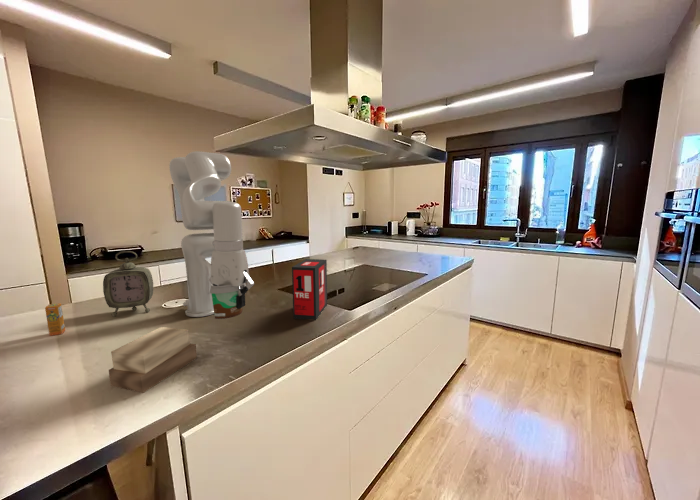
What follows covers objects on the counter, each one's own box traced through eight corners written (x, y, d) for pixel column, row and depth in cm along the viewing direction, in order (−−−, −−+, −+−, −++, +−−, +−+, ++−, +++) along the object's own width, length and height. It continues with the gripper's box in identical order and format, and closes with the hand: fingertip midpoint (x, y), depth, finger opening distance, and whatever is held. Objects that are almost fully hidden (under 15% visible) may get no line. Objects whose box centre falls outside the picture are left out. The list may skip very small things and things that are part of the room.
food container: (231, 323, 80) (229, 287, 78) (211, 320, 81) (209, 286, 79) (254, 307, 92) (253, 276, 90) (236, 305, 93) (235, 275, 91)
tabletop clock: (107, 318, 110) (98, 253, 106) (114, 310, 118) (106, 250, 114) (152, 313, 115) (145, 251, 112) (156, 305, 124) (150, 248, 120)
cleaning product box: (307, 304, 126) (306, 259, 123) (327, 305, 124) (326, 259, 121) (293, 318, 110) (291, 267, 107) (316, 320, 108) (315, 268, 105)
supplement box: (48, 336, 95) (43, 307, 93) (53, 332, 98) (48, 304, 96) (62, 334, 96) (57, 305, 95) (66, 330, 99) (61, 302, 98)
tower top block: (113, 369, 69) (111, 351, 68) (162, 341, 82) (160, 327, 81) (145, 373, 67) (143, 355, 66) (189, 344, 80) (188, 329, 80)
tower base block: (110, 387, 69) (108, 370, 68) (169, 354, 84) (167, 339, 84) (143, 394, 66) (140, 376, 66) (197, 359, 82) (195, 344, 81)
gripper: (194, 246, 82) (199, 307, 85) (246, 250, 77) (249, 314, 80) (213, 242, 89) (217, 298, 92) (262, 245, 84) (264, 305, 87)
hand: (232, 305), depth 86 cm, fingers closed on food container, 5 cm apart
